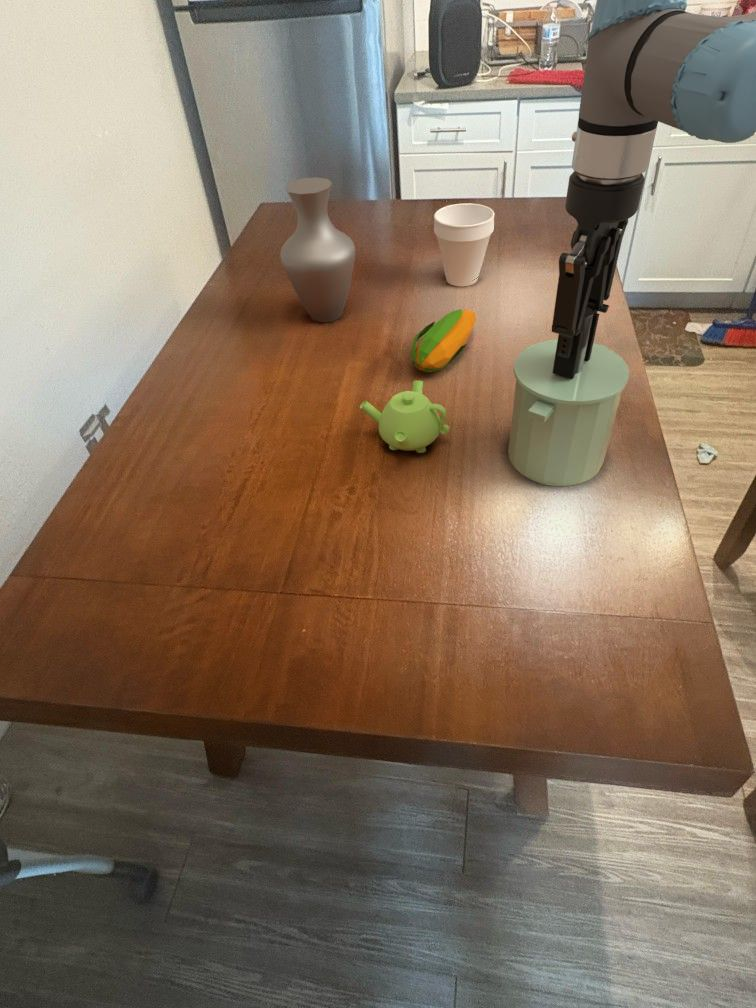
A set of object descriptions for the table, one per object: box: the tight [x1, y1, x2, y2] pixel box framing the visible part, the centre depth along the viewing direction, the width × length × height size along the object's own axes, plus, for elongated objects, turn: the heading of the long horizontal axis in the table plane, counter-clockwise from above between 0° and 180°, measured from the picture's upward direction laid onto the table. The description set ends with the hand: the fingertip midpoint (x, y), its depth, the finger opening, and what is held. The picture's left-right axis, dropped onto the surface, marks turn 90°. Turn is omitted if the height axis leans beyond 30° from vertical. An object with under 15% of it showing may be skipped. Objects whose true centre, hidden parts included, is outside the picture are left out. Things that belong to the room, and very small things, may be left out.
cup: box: [433, 202, 496, 287], centre depth 127 cm, size 12×12×14 cm
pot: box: [507, 342, 624, 487], centre depth 85 cm, size 14×19×14 cm
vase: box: [279, 176, 356, 323], centre depth 116 cm, size 14×14×25 cm
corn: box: [409, 308, 477, 373], centre depth 109 cm, size 7×8×20 cm
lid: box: [513, 307, 630, 405], centre depth 77 cm, size 15×15×9 cm
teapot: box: [359, 379, 450, 454], centre depth 92 cm, size 11×12×8 cm
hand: (571, 365), depth 79 cm, fingers open, 4 cm apart
